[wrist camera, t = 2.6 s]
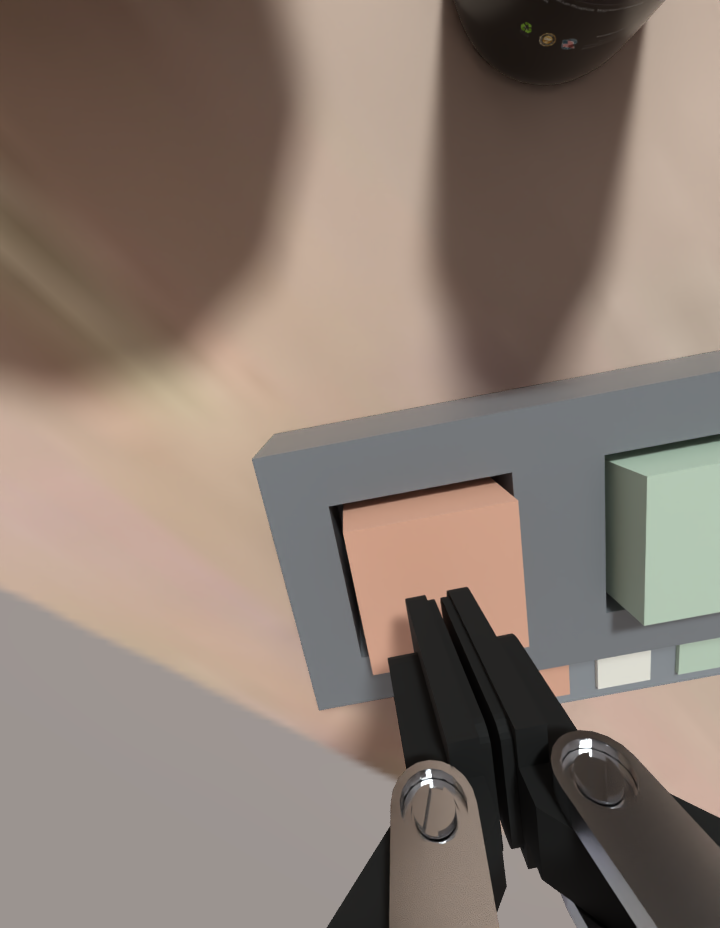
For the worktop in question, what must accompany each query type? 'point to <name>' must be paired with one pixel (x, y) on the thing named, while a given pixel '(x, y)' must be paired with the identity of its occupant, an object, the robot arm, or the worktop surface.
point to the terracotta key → (435, 559)
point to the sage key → (664, 529)
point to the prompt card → (634, 671)
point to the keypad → (517, 471)
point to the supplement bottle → (551, 34)
